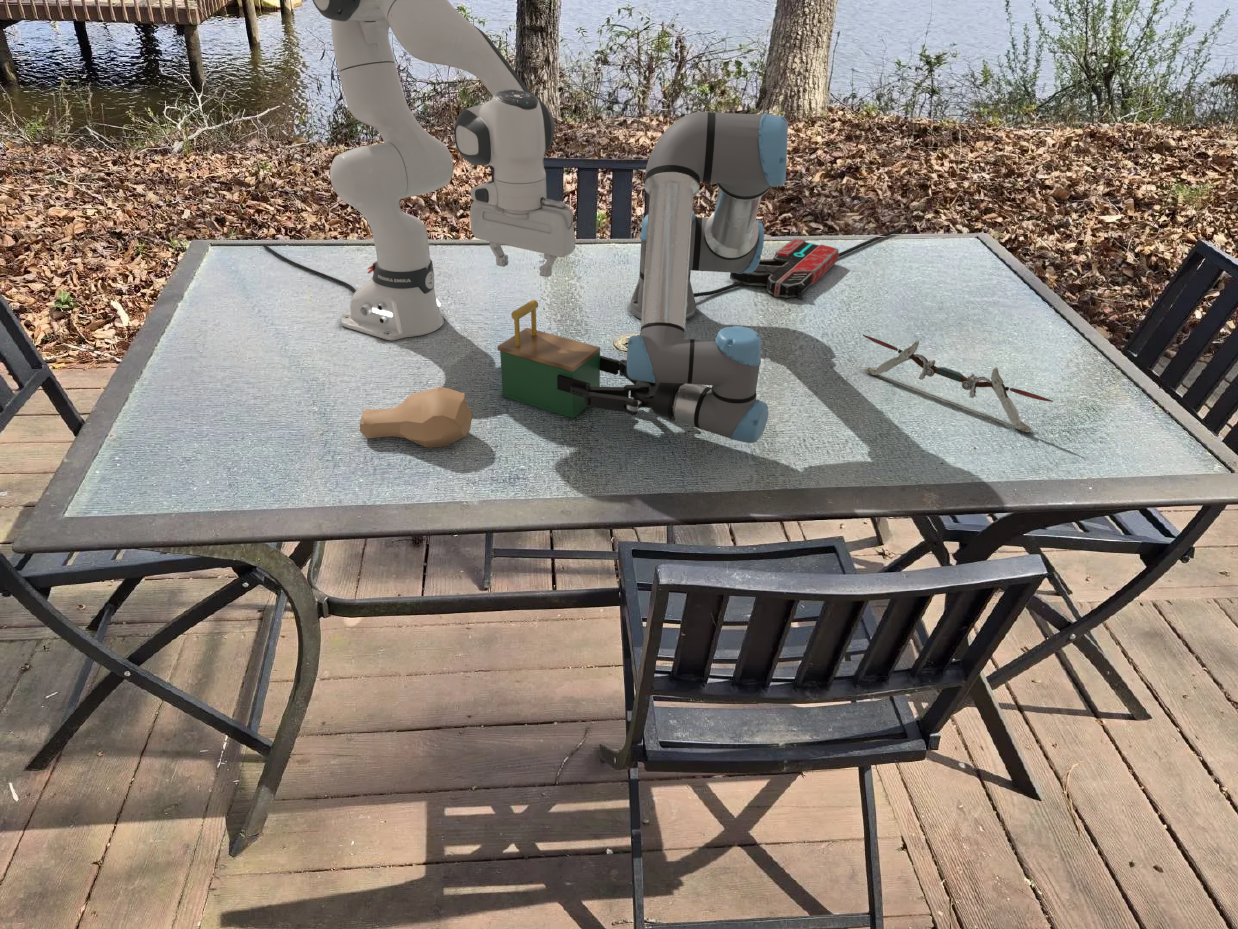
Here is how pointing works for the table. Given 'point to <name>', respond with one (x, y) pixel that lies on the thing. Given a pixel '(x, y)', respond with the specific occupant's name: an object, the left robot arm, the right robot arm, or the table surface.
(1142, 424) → the table surface
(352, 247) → the table surface
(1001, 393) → the bow
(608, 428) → the table surface
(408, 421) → the squash
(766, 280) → the gun
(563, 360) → the lid
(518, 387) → the chest
